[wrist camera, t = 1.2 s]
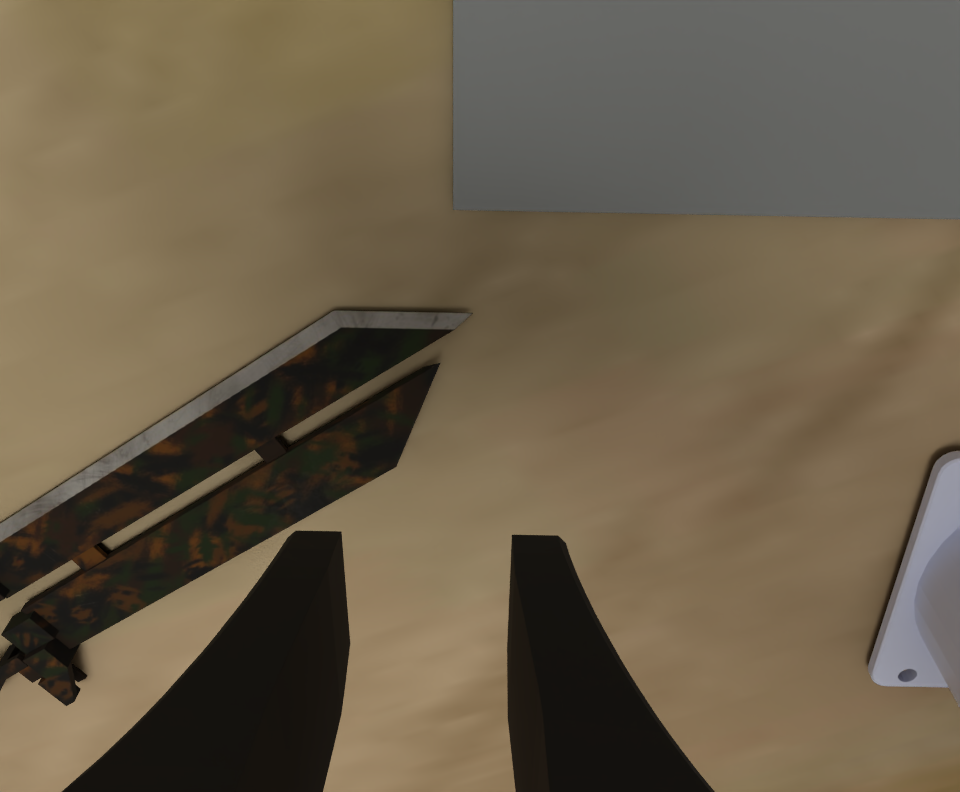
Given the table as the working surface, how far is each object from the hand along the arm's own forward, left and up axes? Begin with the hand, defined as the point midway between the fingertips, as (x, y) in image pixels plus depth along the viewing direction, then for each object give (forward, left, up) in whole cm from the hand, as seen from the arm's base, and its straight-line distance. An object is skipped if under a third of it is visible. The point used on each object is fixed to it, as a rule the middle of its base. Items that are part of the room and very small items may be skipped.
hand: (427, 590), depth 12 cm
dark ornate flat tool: (+11, +8, -11) cm, 17 cm away
